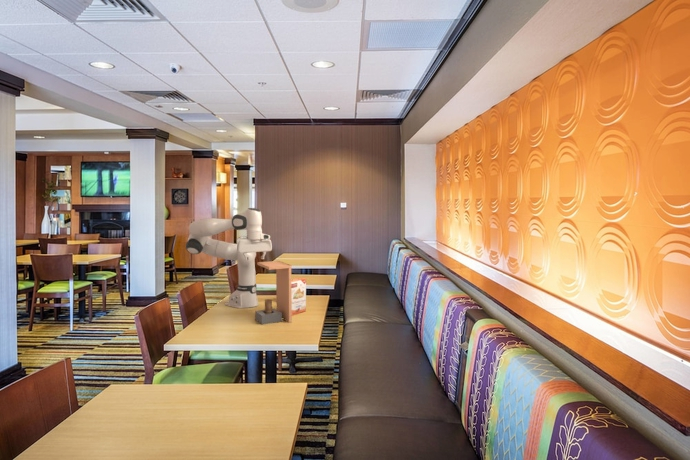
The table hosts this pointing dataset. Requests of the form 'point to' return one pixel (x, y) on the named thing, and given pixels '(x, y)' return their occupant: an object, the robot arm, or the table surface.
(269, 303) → the peg
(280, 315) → the socket
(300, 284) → the cracker box
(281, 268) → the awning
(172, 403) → the table surface
